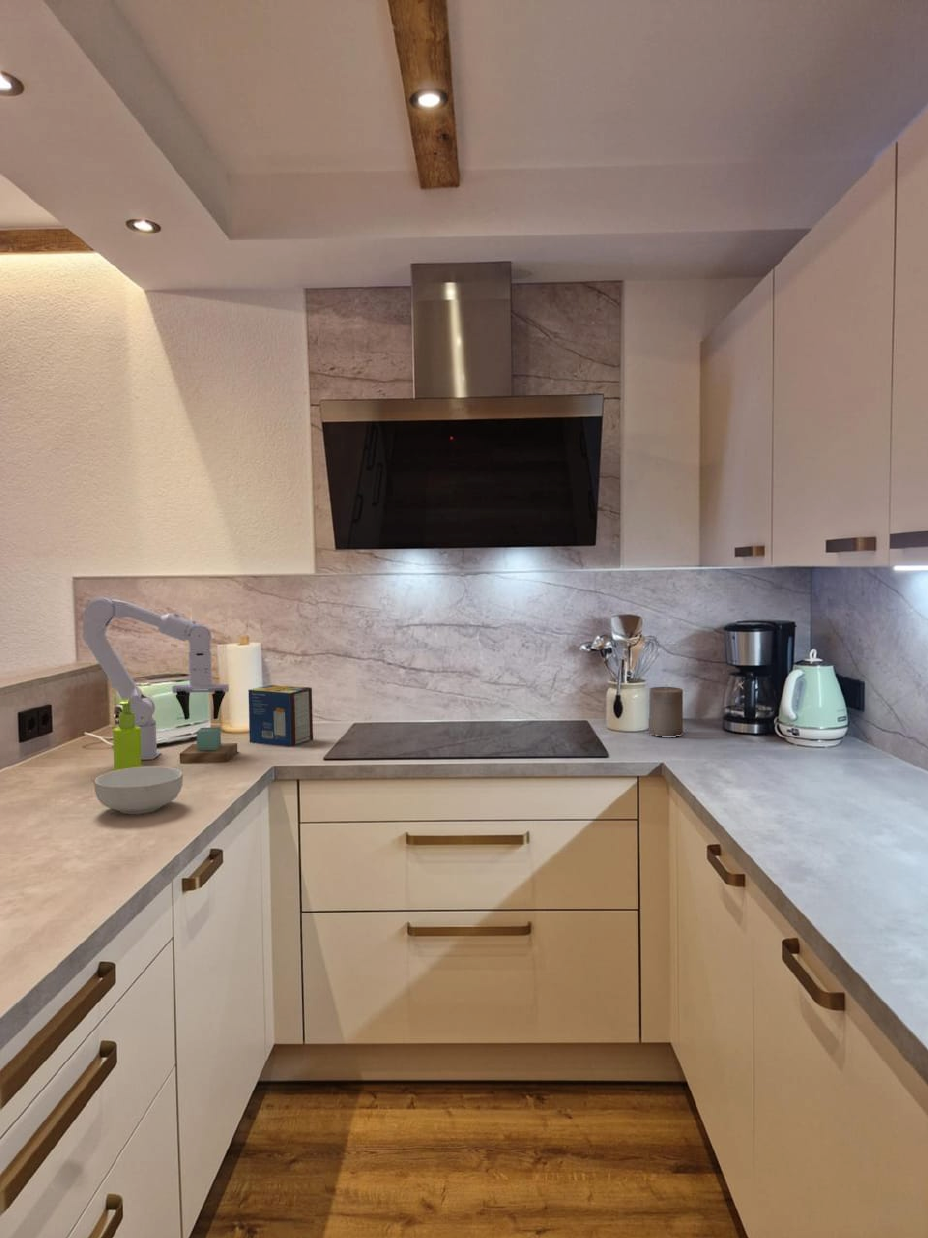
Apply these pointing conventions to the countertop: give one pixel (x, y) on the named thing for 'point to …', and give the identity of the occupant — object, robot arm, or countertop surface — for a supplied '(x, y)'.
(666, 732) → the pillar candle
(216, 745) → the teal cube
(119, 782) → the cereal bowl
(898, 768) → the countertop surface
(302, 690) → the protein box
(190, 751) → the walnut base
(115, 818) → the countertop surface
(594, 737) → the countertop surface
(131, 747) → the soap dispenser
